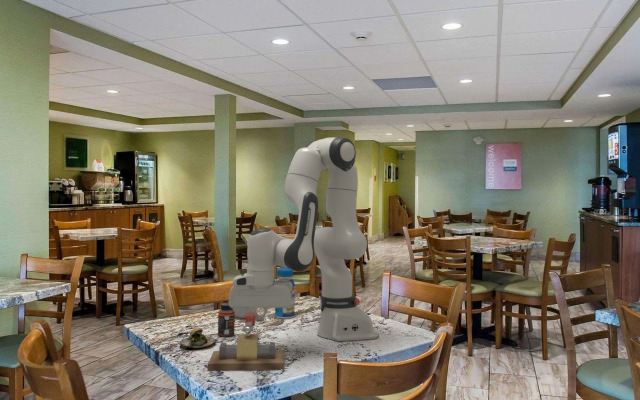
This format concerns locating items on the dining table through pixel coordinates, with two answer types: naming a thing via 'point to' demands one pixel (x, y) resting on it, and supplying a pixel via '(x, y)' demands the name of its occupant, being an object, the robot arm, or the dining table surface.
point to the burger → (196, 340)
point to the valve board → (246, 363)
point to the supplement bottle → (226, 321)
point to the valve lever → (249, 322)
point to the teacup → (242, 312)
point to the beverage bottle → (288, 274)
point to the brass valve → (247, 349)
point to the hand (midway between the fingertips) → (260, 321)
